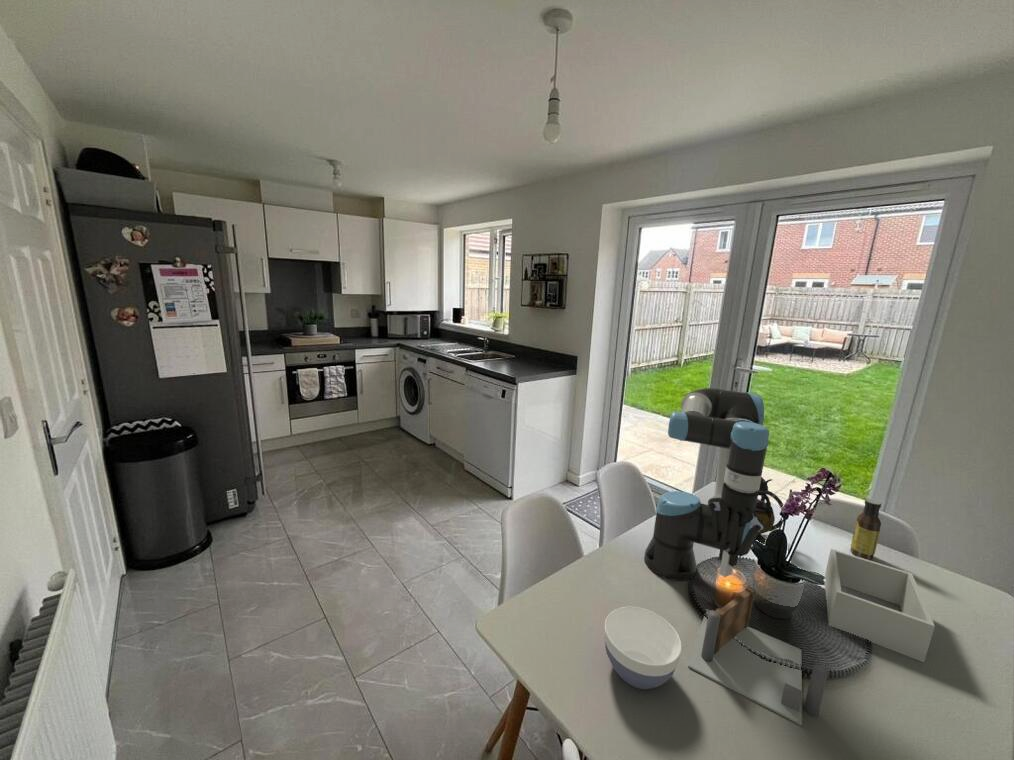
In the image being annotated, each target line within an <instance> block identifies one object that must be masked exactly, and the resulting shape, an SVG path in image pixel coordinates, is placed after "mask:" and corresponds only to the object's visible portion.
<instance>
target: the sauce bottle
mask: <svg viewBox="0 0 1014 760" xmlns="http://www.w3.org/2000/svg"><path fill="white" fill-rule="evenodd" d="M881 508H882V503H881V502H880V501H878V500H876V499H873V498H865V500H864V507H863V510H862V512H861V513H860V514H859V515H858V516H857V518H856V521H855V525H854V530H853V535H852V538H851V544H850V549H849V551H850V552H851V553H852V555H853V556H857V557H860V558H863V559H867V560H870V561H872V560H873V559H874V555H875V554H876V551H877V545H878V542H879V536H880V532H881V526H882V523H881V519H880V518H879V514H880V513H879V512H880V509H881Z"/></svg>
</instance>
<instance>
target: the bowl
mask: <svg viewBox="0 0 1014 760" xmlns="http://www.w3.org/2000/svg"><path fill="white" fill-rule="evenodd" d="M603 635H604V644H605V645H604V647H605V651H606V655H607V658H608V660H609V661H610V664H611V666H612V668H613V669H614V670H615V672H616V673H617V674H618V675H619V676H620V678H621V679H622V680H623V681H624V682H625V683H626V684H628V685H629V686H632V687H634V688H636V689H640V690H650V689H655V688H657V687H660V686H662V685H663V684H666V682H667V681H669V680H670V679H671V678H672V677H673V675H674V673H675V670H676V668H677V667H678V664H679V662H680V658H681V653H682V647H683V646H682V642H681V638H680V636H679V633H678V632H677V631H676V629H675V628H674V627H673V625H672V624H670V622H668V621H667V619H665V618H664V617H662V616H660V615H659V614H658V613H656V612H653V611H651V610H649V609H645V608H642V607H638V606H622V607H618V608H616V609H613V610H611V612H610V613H609V614H608V615H607V617H606V618H605V621H604V634H603Z"/></svg>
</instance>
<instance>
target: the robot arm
mask: <svg viewBox="0 0 1014 760" xmlns="http://www.w3.org/2000/svg"><path fill="white" fill-rule="evenodd" d="M680 410H681V411H672V412H671V413H670V416H669V421H668V429H667V435H668V437H669V438H671V439H674V440H679V441H680V442H690V443H695V444H698V445H699V444H700V445H706V446H712V447H716V448H719V453H718V454H719V455H718V461H717V462H718V463H717V470H716V479H715V488H714V495H713V496H712V497H710V498H709V499H708V500H707V504H705V503H702V502H701V499H700V498H699V497H698V496H697V495H694V494H693V493H691V492H686V491H680V490H679V491H678V490H676V491H674V490H673V491H668V492H665V493H663V494H661V495H660V496H659V498H658V501H657V505H656V508H655V511H656V514H655V520H654V528H653V533H652V537H651V540H650V541H649V543H648V545H647V547H646V548H645V551H644V558H643V560H644V563H645V564H646V566H647V567H648V568H649V570H651V571H652V572H653V573H655V574H657V575H658V576H660V577H663V578H665V579H668V580H672V581H689V580H691V579H693V578H694V577H695V576H694V575H696V573H697V562H696V555H695V551H694V543H695V544H699V545H700V546H701V545H702V546H706V547H709V548H713V549H716V550H719V554H718V558H719V560H720V561H721V562H720V566H719V567H720V568H719V575H720V576H722V577H724V578H727V577H729V576H731V575H732V572H733V568H734V566H737V564H738V559H739V557H740V558H741V557H744V556H747V554H749V553H750V550H751V549H752V546H753V545H754V544H753V543H754V541H755V539H756V537H757V535H758V533H759V531H761V530H762V529H764V528H765V525H764V524H763V523H760V522H759V521H758V519H757V517H756V513H755V507H756V504H757V499H759V495H758V490H759V489H760V483H761V477H762V474H763V469H764V464H765V459H766V454H767V449H768V446H769V444H770V439H769V437H770V430H769V429H768V427H766V426H764V422H765V421H764V420H765V405H764V399H763V398H762V397H761V396H760V395H759V394H756V393H752V392H748V391H746V392H744V391H743V392H742V391H734V390H730V389H729V390H728V389H720V388H714V387H707V388H706V387H705V388H700V389H696V390H692V391H690V392H688V393H687V394H686V395H685V396H684V397H683V398H682V400H681V402H680ZM693 576H694V577H693ZM692 577H693V578H692ZM690 578H691V579H690Z"/></svg>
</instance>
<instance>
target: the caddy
mask: <svg viewBox="0 0 1014 760" xmlns="http://www.w3.org/2000/svg"><path fill="white" fill-rule="evenodd" d="M913 575H914V574H913V573H911V572H908V571H905V570H902V569H900V568H899V569H898V568H896V567H892V566H889V565H885V564H883V563H879V562H876V561H872V560H867V559H863V558H860V557H857V556H855V555H854V554H850V553H847V552H845V551H844V552H843V551H840V550H837V549H834V548H830V551H829V556H828V560H827V565H826V569H825V572H824V577H825V580H826V581H825V580H824V589H825V599H826V600H827V601H826V600H825V601H826V611H827V620H828V626H829V627H832V628H834V627H835V628H834V629H836V630H837V629H838V630H839V629H840V630H839V631H842V630H843V631H842V632H844V631H846V632H845V633H847V632H849V633H848V634H850V633H851V634H850V635H852V634H854V635H853V636H855V635H856V637H857V636H859V637H858V638H860V637H863V638H865V639H868V640H869V641H868V642H870V641H871V643H873V644H876V645H878V646H879V647H880V646H881V647H883V648H886V649H888V650H891V651H894V652H896V653H899V654H901V655H904V656H906V657H908V658H911V659H914V660H916V661H919V662H922V663H925V660H926V657H927V654H928V650H929V647H930V644H931V641H932V638H933V637H932V636H933V634H934V631H935V628H936V627H935V623H934V621H933V618H932V616H931V615H930V611H929V609H928V607H927V605H926V603H925V601H924V597H923V596H922V594H921V591H920V589H919V586H918V584H917V581H916V579H915V577H914V576H913ZM842 586H843V587H845V588H848V589H852V590H854V591H857V592H860V593H863V594H865V595H869V596H872V597H875V598H878V599H880V600H883V601H886V602H889V603H892V604H895V605H898V606H899V608H900V610H901V611H899V610H895V609H893V608H890V607H887V606H884V605H881V604H879V603H876V602H873V601H870V600H867V599H864V598H862V597H858V596H856V595H854V594H850V593H847V592H845V591H842ZM865 639H864V640H865Z"/></svg>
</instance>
